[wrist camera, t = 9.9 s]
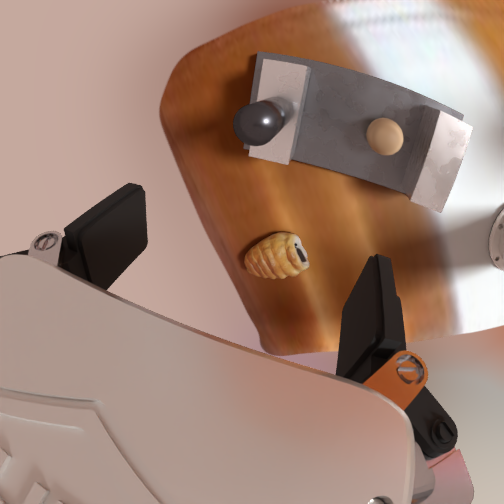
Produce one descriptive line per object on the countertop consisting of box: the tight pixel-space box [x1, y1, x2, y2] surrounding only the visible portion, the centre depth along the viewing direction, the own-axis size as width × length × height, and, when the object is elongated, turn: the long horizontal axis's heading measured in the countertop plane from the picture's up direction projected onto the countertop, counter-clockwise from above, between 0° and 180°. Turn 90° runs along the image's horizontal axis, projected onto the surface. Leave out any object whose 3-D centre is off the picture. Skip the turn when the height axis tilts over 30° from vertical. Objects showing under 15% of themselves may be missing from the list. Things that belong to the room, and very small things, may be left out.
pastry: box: [244, 232, 310, 279], centre depth 40 cm, size 9×7×4 cm
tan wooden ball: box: [366, 118, 403, 155], centre depth 25 cm, size 4×4×4 cm
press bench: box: [243, 51, 473, 213], centre depth 26 cm, size 24×12×6 cm, turn 82°
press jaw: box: [233, 59, 311, 165], centre depth 23 cm, size 4×10×13 cm, turn 172°
